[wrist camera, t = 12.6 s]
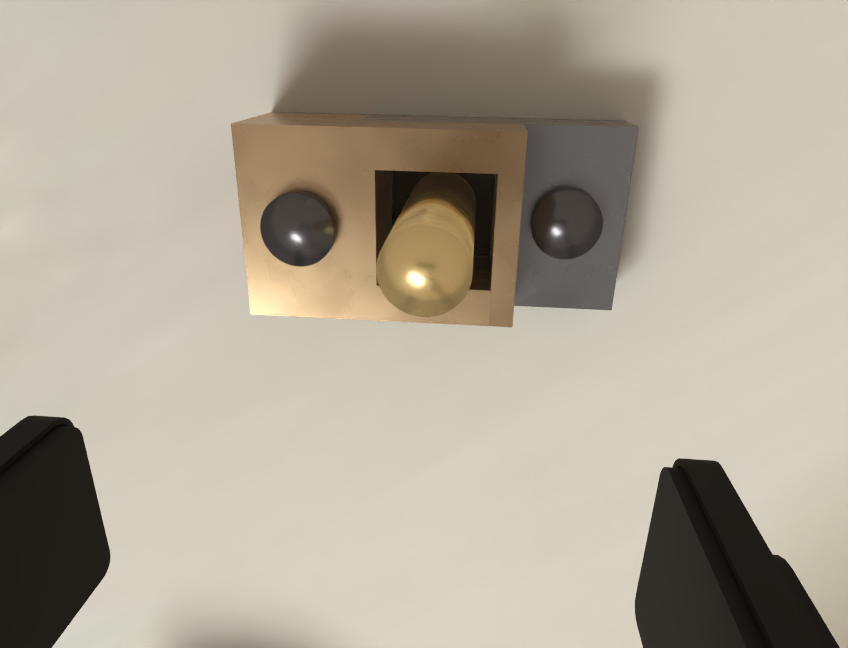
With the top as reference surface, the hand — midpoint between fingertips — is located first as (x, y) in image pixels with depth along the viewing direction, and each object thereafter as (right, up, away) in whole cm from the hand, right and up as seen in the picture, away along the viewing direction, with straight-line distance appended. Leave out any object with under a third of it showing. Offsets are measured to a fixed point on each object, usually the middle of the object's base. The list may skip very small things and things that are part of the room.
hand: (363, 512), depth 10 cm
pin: (+2, +9, +20) cm, 22 cm away
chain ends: (+2, +9, +20) cm, 22 cm away
